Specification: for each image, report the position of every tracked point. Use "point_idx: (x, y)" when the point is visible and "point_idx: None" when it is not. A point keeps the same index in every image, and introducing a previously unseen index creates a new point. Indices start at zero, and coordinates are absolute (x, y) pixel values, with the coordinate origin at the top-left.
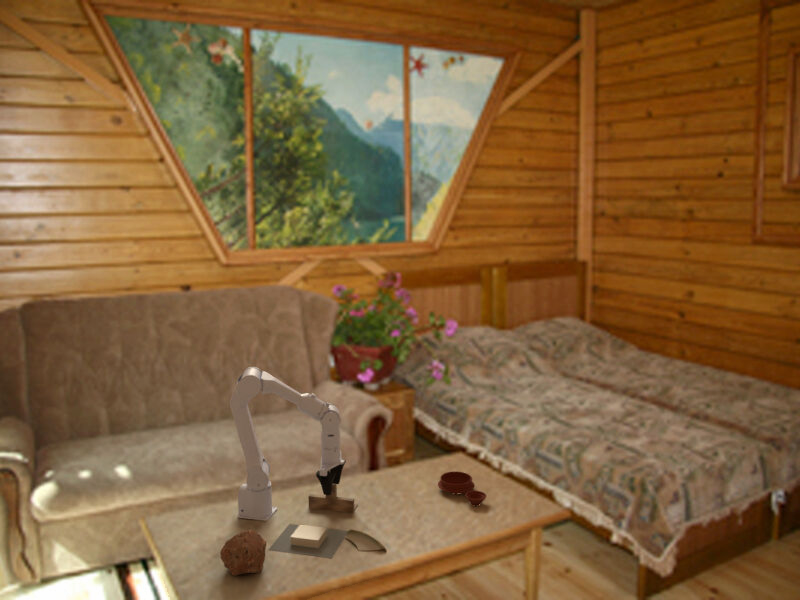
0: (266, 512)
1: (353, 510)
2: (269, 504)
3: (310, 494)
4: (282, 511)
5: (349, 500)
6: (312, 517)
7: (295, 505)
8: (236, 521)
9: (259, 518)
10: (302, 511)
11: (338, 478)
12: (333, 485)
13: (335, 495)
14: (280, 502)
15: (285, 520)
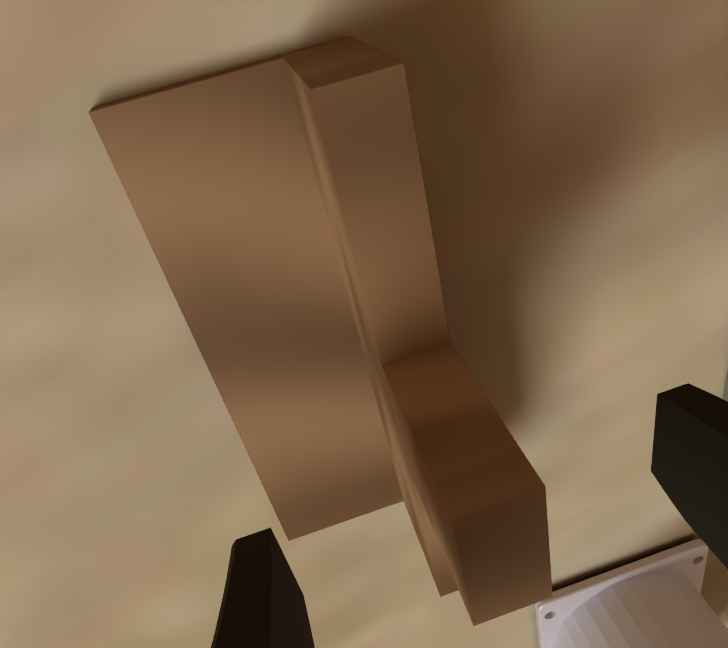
0: (685, 596)
1: (327, 47)
2: (693, 645)
3: (449, 588)
4: None
5: (408, 132)
6: (578, 359)
7: None
8: None
9: (698, 577)
10: None
11: (280, 636)
12: (513, 525)
13: (450, 376)
14: (435, 642)
15: None
